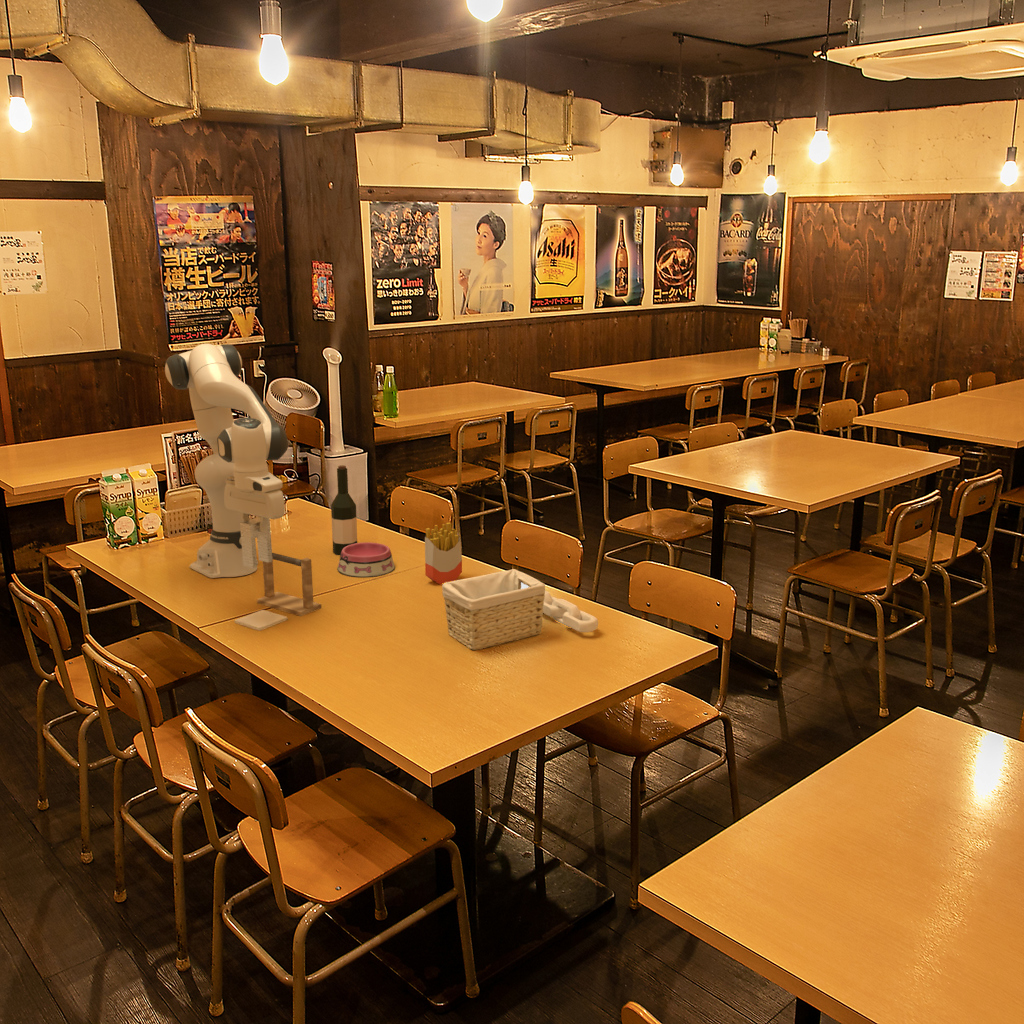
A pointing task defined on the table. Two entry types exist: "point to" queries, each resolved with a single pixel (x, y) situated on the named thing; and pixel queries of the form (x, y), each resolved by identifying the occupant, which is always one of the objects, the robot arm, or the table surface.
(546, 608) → the chain
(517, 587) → the storage basket
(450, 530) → the french fries container
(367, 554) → the dog bowl
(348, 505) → the wine bottle
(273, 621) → the ceramic tile
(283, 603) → the rail stand
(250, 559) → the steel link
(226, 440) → the robot arm
